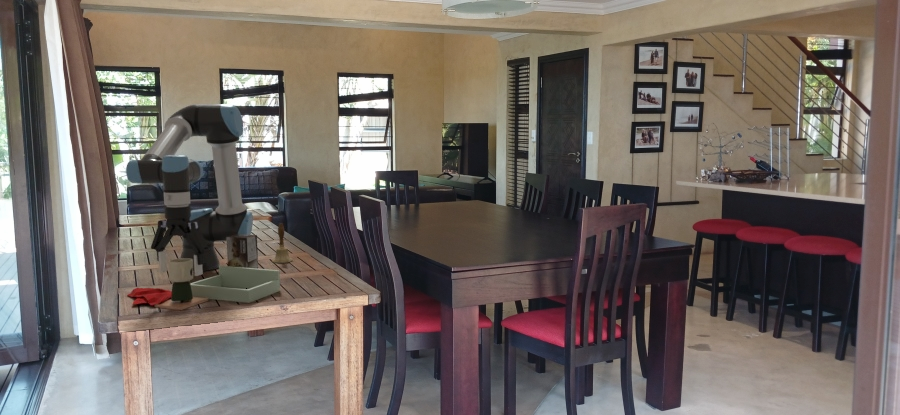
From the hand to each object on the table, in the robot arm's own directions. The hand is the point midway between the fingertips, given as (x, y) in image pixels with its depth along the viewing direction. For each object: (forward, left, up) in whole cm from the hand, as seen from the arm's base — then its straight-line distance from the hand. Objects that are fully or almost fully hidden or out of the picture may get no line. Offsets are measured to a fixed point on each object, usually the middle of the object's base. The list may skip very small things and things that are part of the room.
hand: (180, 273), depth 209 cm
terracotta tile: (0, 0, -10) cm, 10 cm away
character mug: (0, 0, -9) cm, 9 cm away
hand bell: (-10, +70, -10) cm, 71 cm away
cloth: (-14, +2, -9) cm, 17 cm away
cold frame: (+7, +16, -10) cm, 20 cm away
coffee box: (-4, +36, -10) cm, 37 cm away
